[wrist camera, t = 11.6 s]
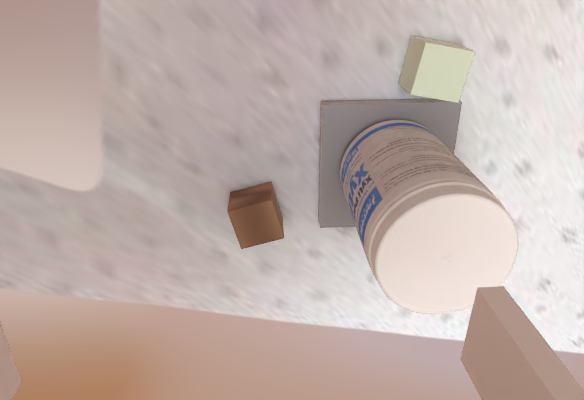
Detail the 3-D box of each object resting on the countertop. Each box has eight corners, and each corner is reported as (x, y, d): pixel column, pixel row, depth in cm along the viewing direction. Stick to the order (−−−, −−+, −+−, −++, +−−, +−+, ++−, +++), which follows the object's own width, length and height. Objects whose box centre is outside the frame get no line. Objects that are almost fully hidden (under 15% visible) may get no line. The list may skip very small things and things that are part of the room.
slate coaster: (318, 221, 46) (320, 227, 45) (321, 101, 41) (322, 104, 40) (438, 217, 47) (442, 223, 46) (456, 98, 41) (461, 101, 40)
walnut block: (243, 227, 46) (241, 249, 43) (230, 191, 44) (227, 211, 41) (282, 217, 46) (283, 238, 42) (271, 181, 44) (271, 200, 41)
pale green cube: (397, 83, 41) (410, 94, 37) (411, 35, 39) (425, 42, 35) (441, 90, 41) (458, 102, 37) (456, 43, 39) (475, 51, 36)
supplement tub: (324, 139, 41) (352, 221, 28) (428, 99, 40) (509, 165, 27) (357, 228, 45) (394, 335, 32) (452, 194, 44) (532, 291, 31)
